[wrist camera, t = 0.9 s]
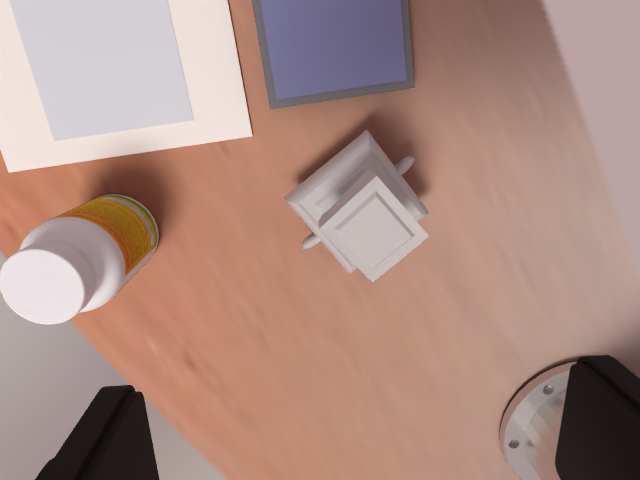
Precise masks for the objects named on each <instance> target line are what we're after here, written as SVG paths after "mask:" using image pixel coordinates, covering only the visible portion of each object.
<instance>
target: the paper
mask: <svg viewBox="0 0 640 480" xmlns="http://www.w3.org/2000/svg"><path fill="white" fill-rule="evenodd" d="M250 136H253V135H252V129H251V124H250V118H249V113H248V107H247V102H246V97H245V91H244V86H243V80H242V75H241V69H240V64H239V59H238V53H237V48H236V42H235V37H234V31H233V26H232V21H231V15H230V10H229V4H228V0H0V150H1V152H2V155H3V158H4V161H5V164H6V166H7V169H8V172H16V171H23V170H29V169H36V168H43V167H50V166H56V165H63V164H70V163H76V162H83V161H90V160H96V159H103V158H110V157H117V156H123V155H130V154H137V153H143V152H150V151H157V150H163V149H170V148H177V147H183V146H190V145H197V144H204V143H210V142H217V141H224V140H230V139H237V138H244V137H250Z"/></svg>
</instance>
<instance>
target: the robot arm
mask: <svg viewBox="0 0 640 480" xmlns="http://www.w3.org/2000/svg"><path fill="white" fill-rule="evenodd" d="M500 444H501V449H502V453H503V455H504V457H505V459H506V461H507V463H508V464H509V466H510V467H511V469H512V470H513V472H514V474H516V475H517V476H518V477H519V478H520V479H521V480H640V379H639V378H638V377H637V376H635V375H634V374H633V373H632V372H630V371H629V370H628V369H627V368H625V367H624V366H623V365H622V364H620V363H619V362H618V361H617V360H616V359H614V358H613V357H611V356H608V355H601V356H585V357H580V358H579V359H578V360H577V362H571V363H567V364H564V365H561V366H557V367H554V368H552V369H550V370H548V371H546V372H544V373H542V374H540V375H539V376H537V377H536V378H535V379H533V380H532V381H530V382H529V383H528V384H527V385H526V386H525V387H524V388H522V389H521V390H520V391H519V392H518V393H517V395H516V396H515V397H514V399H513V400H512V401H511V403H510V404H509V406H508V408H507V410H506V412H505V414H504V416H503V420H502V423H501V427H500ZM35 480H159V475H158V470H157V465H156V459H155V455H154V449H153V443H152V438H151V433H150V428H149V422H148V417H147V412H146V406H145V401H144V396H143V394H142V392H135V389H134V387H133V386H131V385H123V386H107V387H103V388H101V389H100V390H99V392H98V393H97V395H96V396H95V398H94V399H93V401H92V402H91V404H90V406H89V407H88V409H87V410H86V411H85V413H84V414H83V416H82V417H81V419H80V420H79V422H78V423H77V425H76V426H75V428H74V429H73V431H72V432H71V434H70V435H69V437H68V438H67V440H66V441H65V443H64V444H63V446H62V447H61V449H60V450H59V452H58V453H57V455H56V456H55V458H53V459H52V460H50V461H49V462H48V463H47V464H46V465H45V466H44V468H43V469H42V470H41V472H40V473H39V475H38V476H37V478H36V479H35Z"/></svg>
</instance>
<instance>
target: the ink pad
mask: <svg viewBox="0 0 640 480" xmlns="http://www.w3.org/2000/svg"><path fill="white" fill-rule="evenodd" d="M252 4H253V10H254V16H255V22H256V28H257V34H258V40H259V46H260V51H261V57H262V63H263V69H264V75H265V81H266V87H267V93H268V99H269V105H270V109H274V108H281V107H288V106H294V105H301V104H308V103H314V102H321V101H328V100H335V99H341V98H348V97H355V96H361V95H368V94H375V93H381V92H388V91H395V90H401V89H408V88H414V75H413V61H412V48H411V34H410V20H409V6H408V0H252Z"/></svg>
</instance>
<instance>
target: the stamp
mask: <svg viewBox="0 0 640 480" xmlns="http://www.w3.org/2000/svg"><path fill="white" fill-rule="evenodd" d="M413 163H414V158H413V157H408V156H407V157H405V158H403V159H402V160H401V161H399V162H398V163H397V164H396V165H393V164H392V162H391V161H390V160H389V158H388V157H387V156H386V154H385V153H384V152H383V150H382V149H381V148H380V146H379V145H378V144H377V142H376V141H375V140H374V138H373V137H372V136H371V135H370V133H369V132H368V131H367V130H365V131H364V132H363V133H362V134H361V135H359V136H358V137H357V138H356V139H355V140H353V141H352V142H351V143H350V144H348V145H347V146H346V147H345V148H344V149H342V150H341V151H340V152H339V153H338V154H336V155H335V156H334V157H333V158H331V159H330V160H329V161H328V162H327V163H325V164H324V165H323V166H322V167H321V168H319V169H318V170H317V171H316V172H315V173H313V174H312V175H311V176H310V177H308V178H307V179H306V180H305V181H304V182H302V183H301V184H300V185H299V186H298V187H296V188H295V189H294V190H293V191H291V192H290V193H289V194H288V195H287V196H285V197H284V198H285V200H286V201H287V202H288V203H289V205H290V206H291V207H292V208H293V209H294V210H295V211H296V213H297V214H298V215H299V216H300V217H301V218H302V220H303V221H304V222H305V223H306V224H307V225H308V227H309V228H310V229H311V230H312V231H313V232H312V233H311V234H310V235H309V236H307V237H306V238H305V239H304V240H303V243H302V247H303V248H304V249H308V248H311V247H313V246H315V245H316V244H317V243H318V242H320V241H321V242H322V243H323V244H324V245H325V246H326V247H327V249H328V250H329V251H330V252H331V253H332V254H333V256H334V257H335V258H336V259H337V260H338V261H339V263H340V264H341V265H342V266H343V267H344V268H345V270H346V271H347V272H348V273H349V274H350V273H352V272H353V271H354V270H356V269H357V268H359V269H360V270H361V271H362V272H363V273H364V275H365V276H366V277H367V278H368V279H369V280H370V281H371V282H372V283H373V282H374V281H375V280H376V279H378V278H379V277H380V276H381V275H382V274H384V273H385V272H386V271H387V270H389V269H390V268H391V267H392V266H394V265H395V264H396V263H397V262H398V261H400V260H401V259H402V258H403V257H405V256H406V255H407V254H408V253H409V252H411V251H412V250H413V249H414V248H416V247H417V246H418V245H419V244H421V243H422V242H423V241H424V240H425V239H427V238H428V237H429V235H428V234H427V233H426V232H425V231H424V230H423V228H422V227H421V226H420V225H419V224H418V223H417V222H418V221H419V220H421V219H422V218H423V217H425V216H426V215H427V214H428V213H429V212H428V210H427V209H426V207H425V206H424V205H423V203H422V202H421V201H420V199H419V198H418V197H417V195H416V194H415V193H414V191H413V190H412V189H411V187H410V186H409V185H408V183H407V182H406V181H405V179H404V178H403V177H402V175H403V173H405V172H406V171H407V170H408V169H409V168H410V167H411V166H412V164H413Z"/></svg>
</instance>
